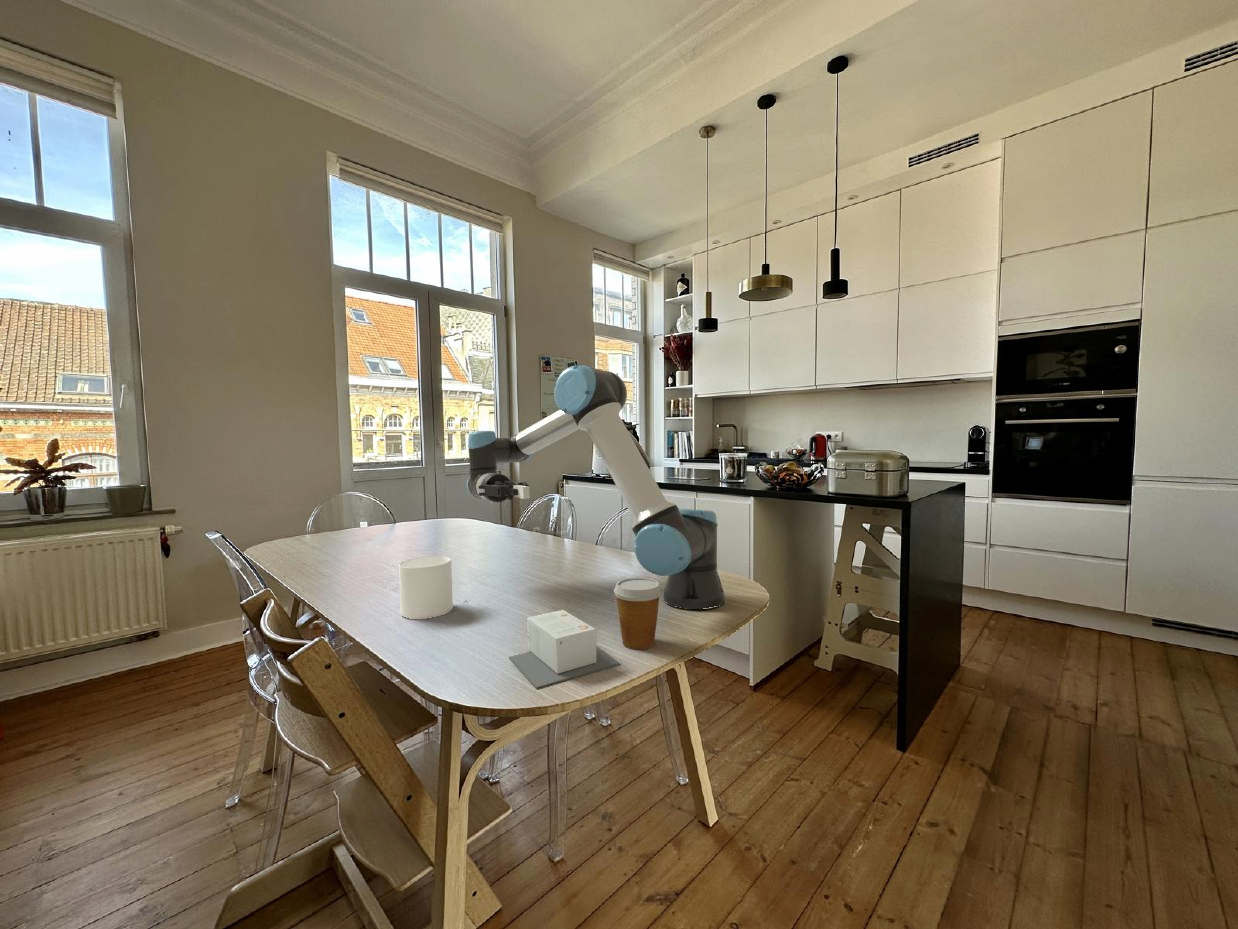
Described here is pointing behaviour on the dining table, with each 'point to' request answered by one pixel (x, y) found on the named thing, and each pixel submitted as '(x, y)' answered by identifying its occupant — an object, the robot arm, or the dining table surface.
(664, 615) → the dining table surface
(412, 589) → the white cylinder
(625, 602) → the disposable coffee cup
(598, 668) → the rubber mat
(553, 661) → the small box
